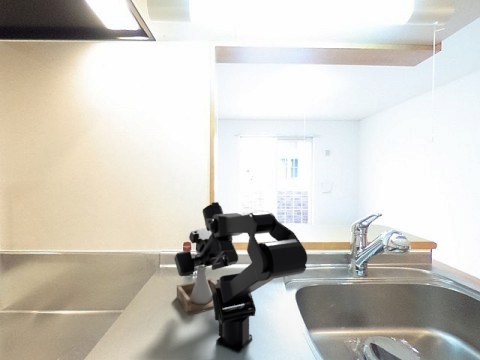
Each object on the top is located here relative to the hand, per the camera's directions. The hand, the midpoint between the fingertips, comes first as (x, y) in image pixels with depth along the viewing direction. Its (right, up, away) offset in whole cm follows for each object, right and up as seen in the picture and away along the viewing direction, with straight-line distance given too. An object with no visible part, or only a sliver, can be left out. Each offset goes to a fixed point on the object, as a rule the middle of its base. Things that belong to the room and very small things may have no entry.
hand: (199, 271), depth 82 cm
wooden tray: (+1, -9, -1) cm, 9 cm away
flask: (+1, -8, -1) cm, 8 cm away
